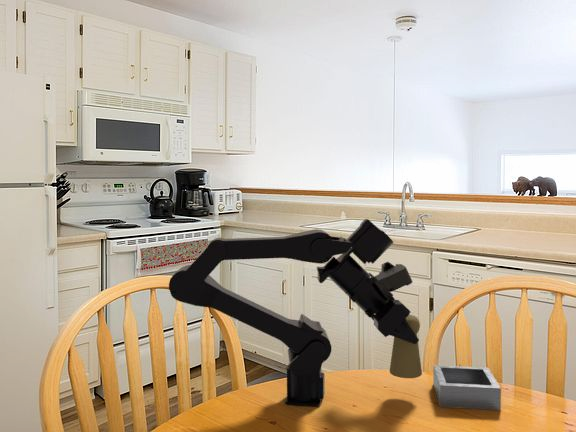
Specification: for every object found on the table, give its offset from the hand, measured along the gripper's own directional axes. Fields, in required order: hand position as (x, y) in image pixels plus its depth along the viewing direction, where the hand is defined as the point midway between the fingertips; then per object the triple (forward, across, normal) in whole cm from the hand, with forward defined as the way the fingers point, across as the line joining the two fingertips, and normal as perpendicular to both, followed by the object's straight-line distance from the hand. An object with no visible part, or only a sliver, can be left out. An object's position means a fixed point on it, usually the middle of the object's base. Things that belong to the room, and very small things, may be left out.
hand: (413, 337), depth 97 cm
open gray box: (+15, -1, +1) cm, 15 cm away
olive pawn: (+4, 0, +6) cm, 7 cm away
